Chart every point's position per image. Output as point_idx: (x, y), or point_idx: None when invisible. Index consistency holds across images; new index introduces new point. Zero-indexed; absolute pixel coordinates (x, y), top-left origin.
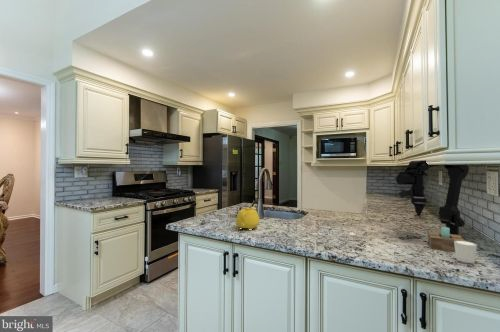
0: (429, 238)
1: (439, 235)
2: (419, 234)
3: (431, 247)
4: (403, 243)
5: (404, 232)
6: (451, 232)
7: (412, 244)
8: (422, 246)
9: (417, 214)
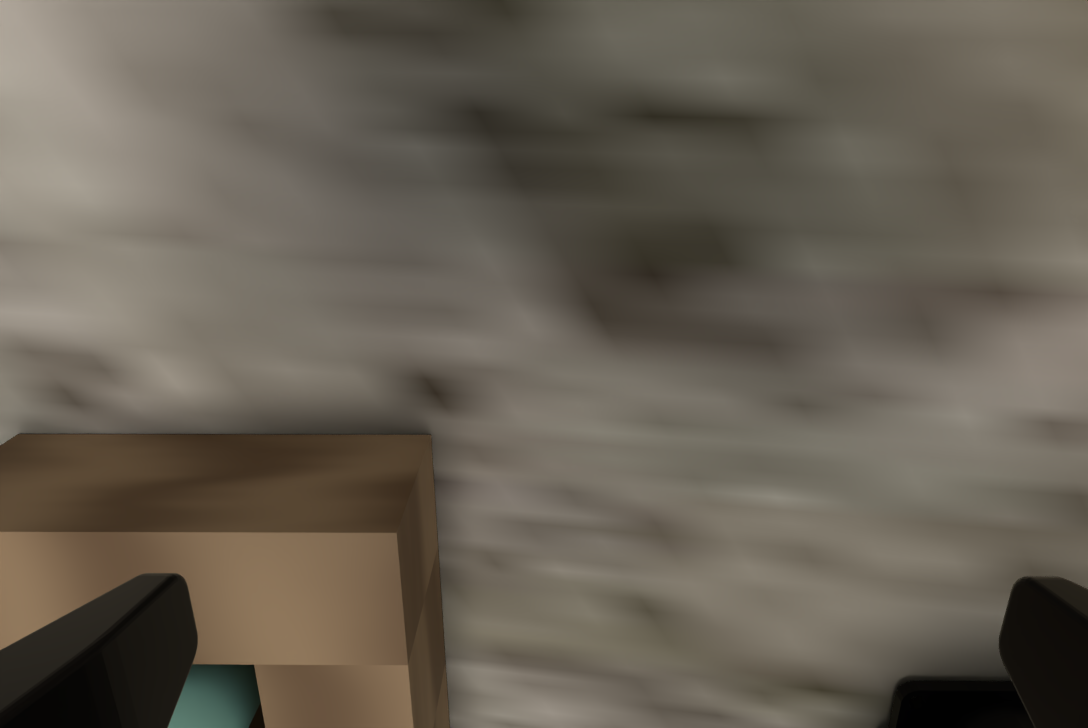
0: (192, 487)
1: (261, 660)
2: (916, 342)
3: (5, 447)
4: (13, 34)
5: (992, 68)
6: None
7: (65, 190)
8: (57, 332)
9: (90, 628)
